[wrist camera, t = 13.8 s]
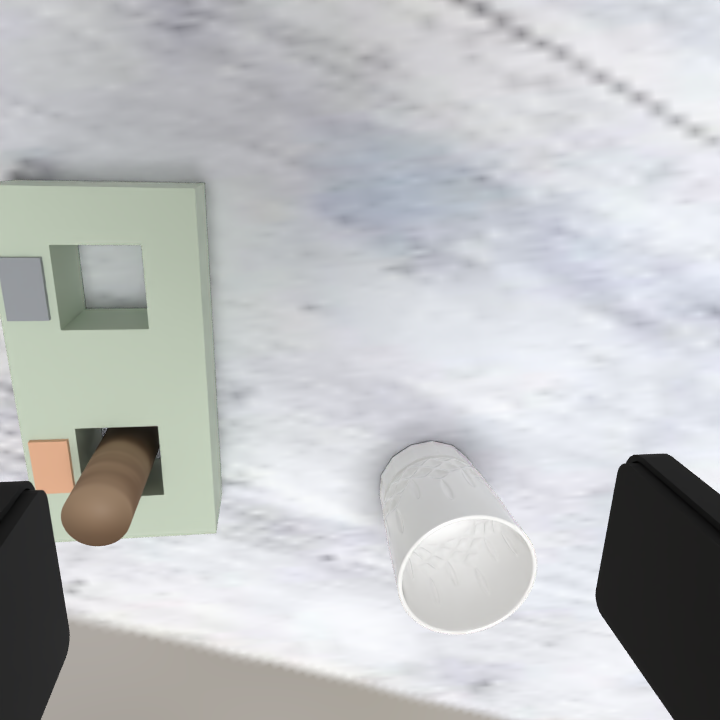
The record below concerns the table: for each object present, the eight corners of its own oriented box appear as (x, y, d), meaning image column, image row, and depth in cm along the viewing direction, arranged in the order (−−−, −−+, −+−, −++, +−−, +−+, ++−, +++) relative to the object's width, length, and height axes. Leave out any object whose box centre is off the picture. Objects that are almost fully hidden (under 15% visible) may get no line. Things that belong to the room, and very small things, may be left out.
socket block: (9, 179, 33) (-33, 185, 29) (204, 182, 35) (194, 188, 30) (59, 501, 40) (32, 546, 35) (222, 493, 41) (215, 536, 37)
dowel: (109, 405, 38) (56, 490, 29) (163, 404, 39) (128, 487, 29) (114, 451, 39) (65, 548, 30) (166, 450, 40) (134, 544, 30)
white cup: (353, 459, 42) (376, 551, 32) (461, 414, 42) (515, 493, 32) (393, 547, 44) (425, 655, 35) (494, 505, 44) (553, 602, 35)
